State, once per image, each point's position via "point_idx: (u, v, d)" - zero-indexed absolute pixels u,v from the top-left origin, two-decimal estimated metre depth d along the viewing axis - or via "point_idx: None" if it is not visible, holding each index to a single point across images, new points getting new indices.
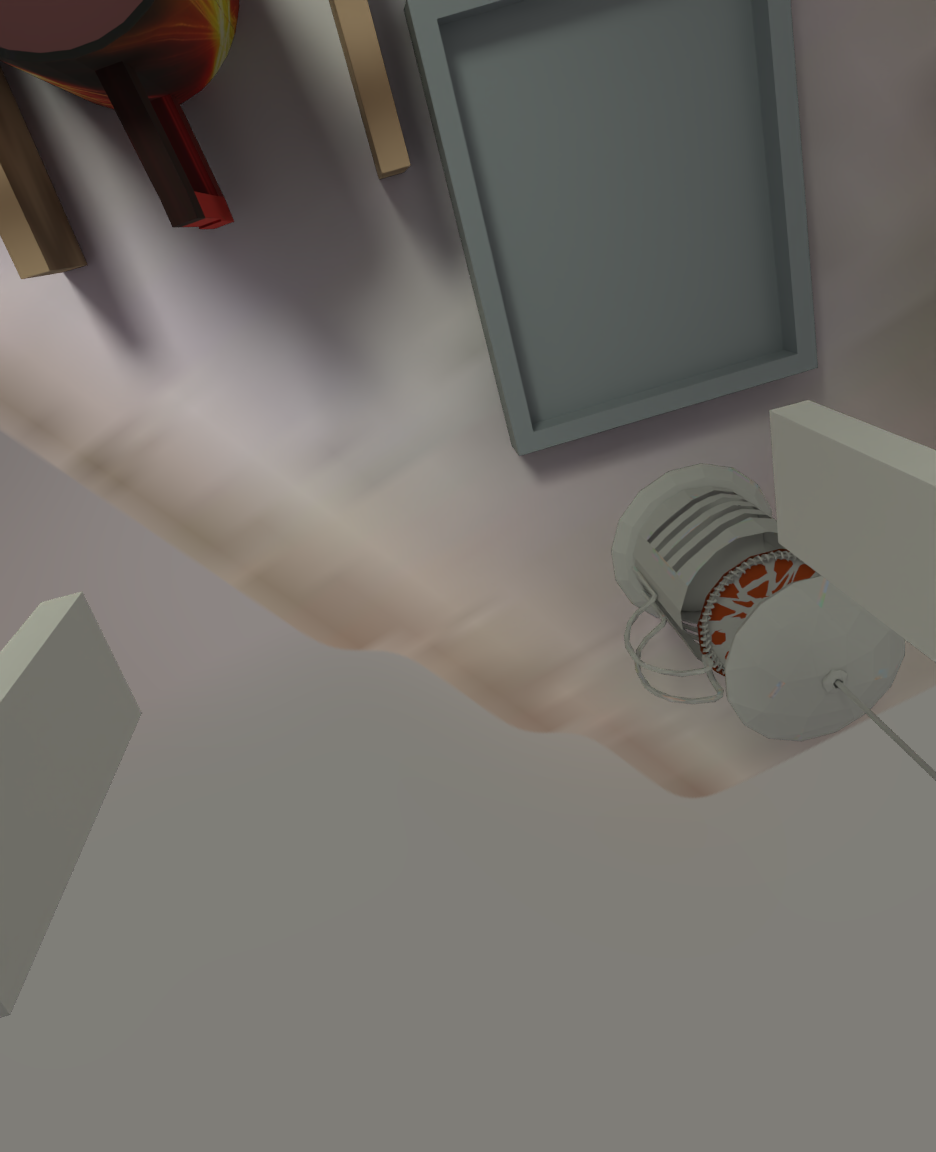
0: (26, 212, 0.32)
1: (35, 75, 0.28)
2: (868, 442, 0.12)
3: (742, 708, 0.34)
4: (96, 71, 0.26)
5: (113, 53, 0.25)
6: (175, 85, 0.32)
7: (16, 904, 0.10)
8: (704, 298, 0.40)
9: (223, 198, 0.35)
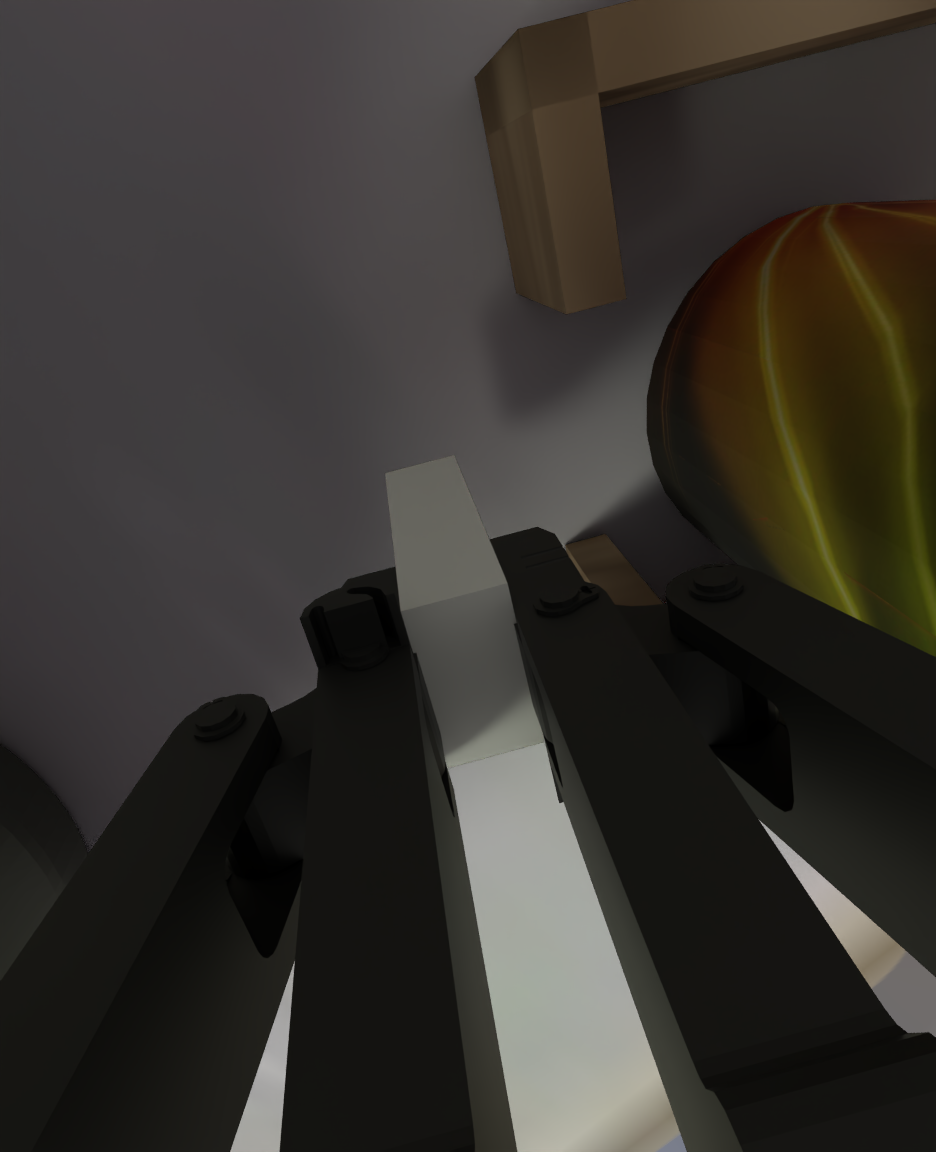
0: None
1: None
2: (445, 500, 0.14)
3: None
4: None
5: None
6: None
7: None
8: None
9: None
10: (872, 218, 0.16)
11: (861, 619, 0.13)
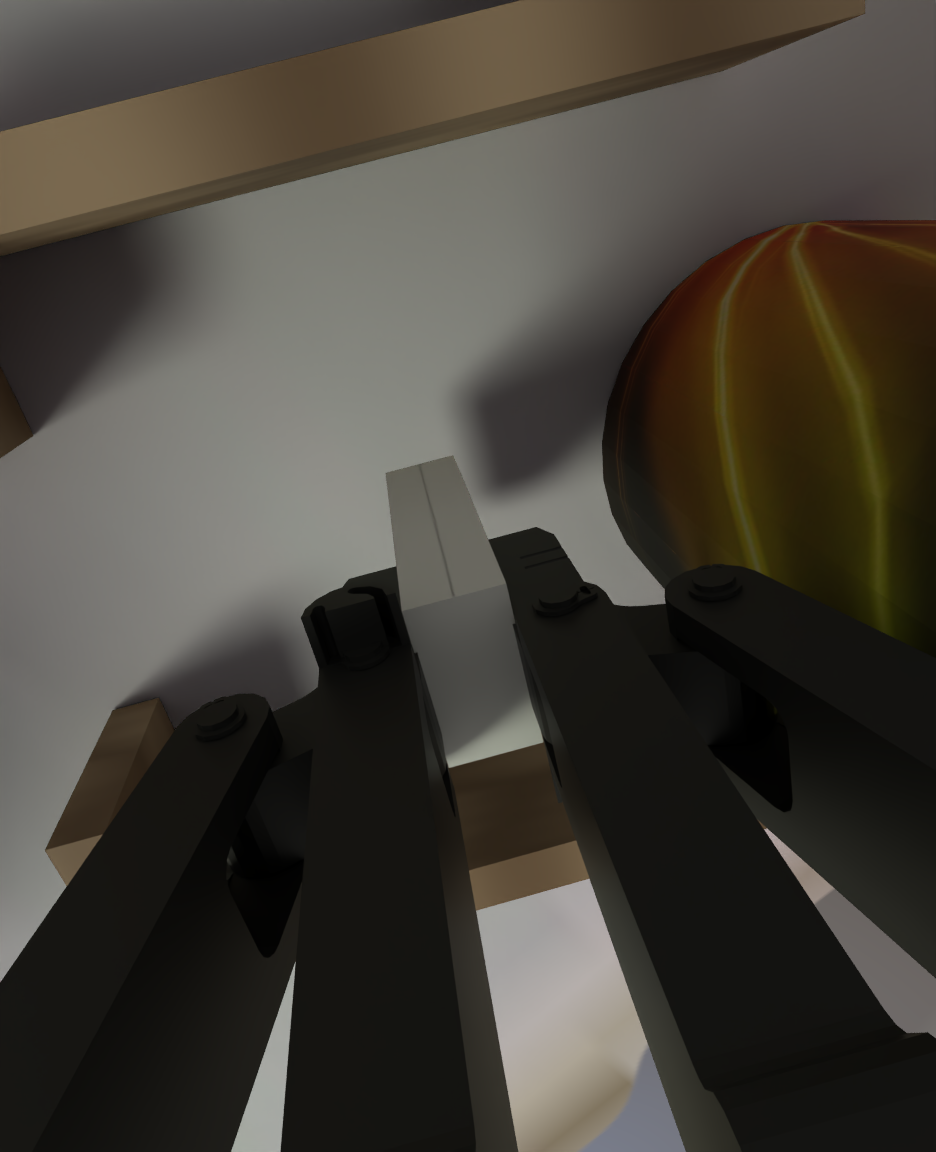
0: None
1: None
2: (444, 501, 0.14)
3: None
4: None
5: None
6: None
7: None
8: None
9: None
10: (845, 245, 0.14)
11: None
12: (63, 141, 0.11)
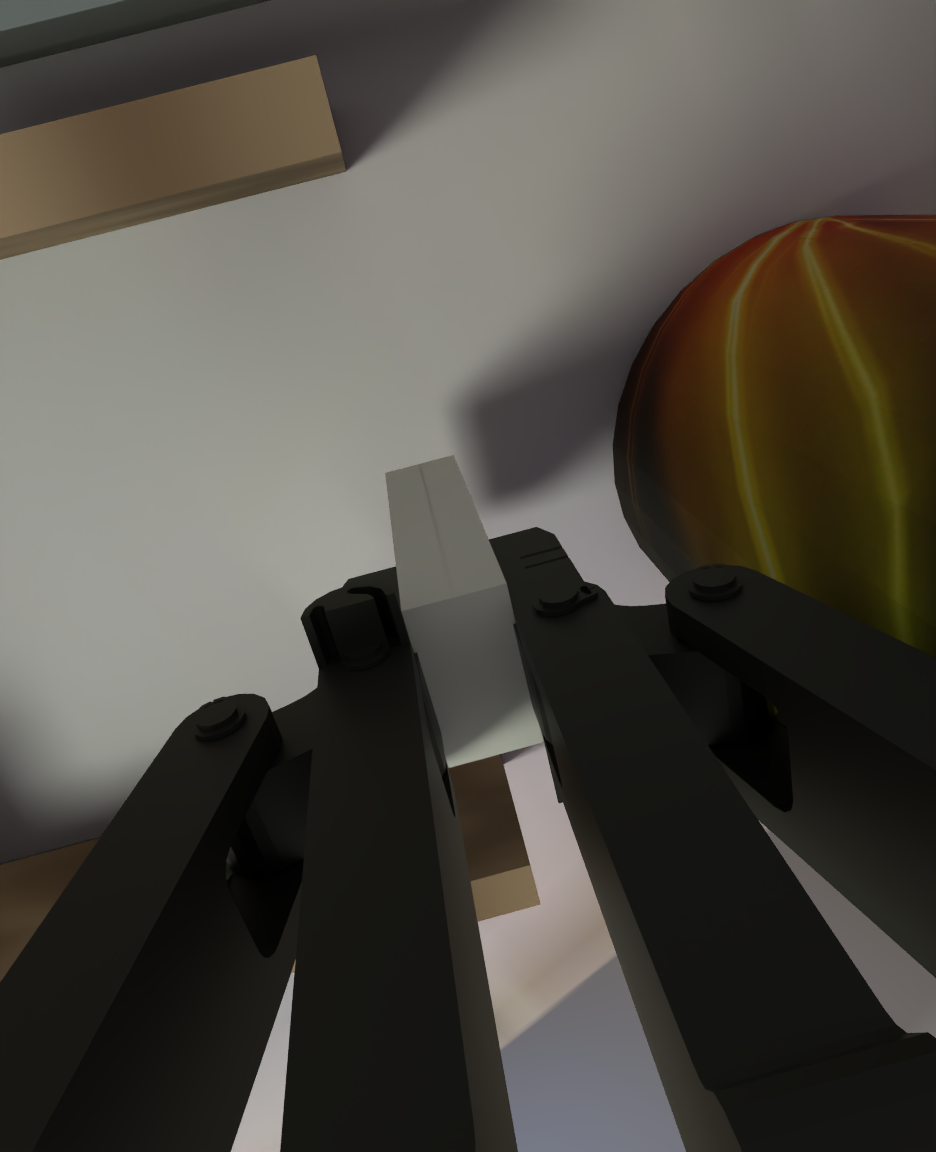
0: None
1: None
2: (444, 501, 0.14)
3: None
4: None
5: None
6: None
7: None
8: None
9: None
10: (858, 242, 0.14)
11: None
12: None
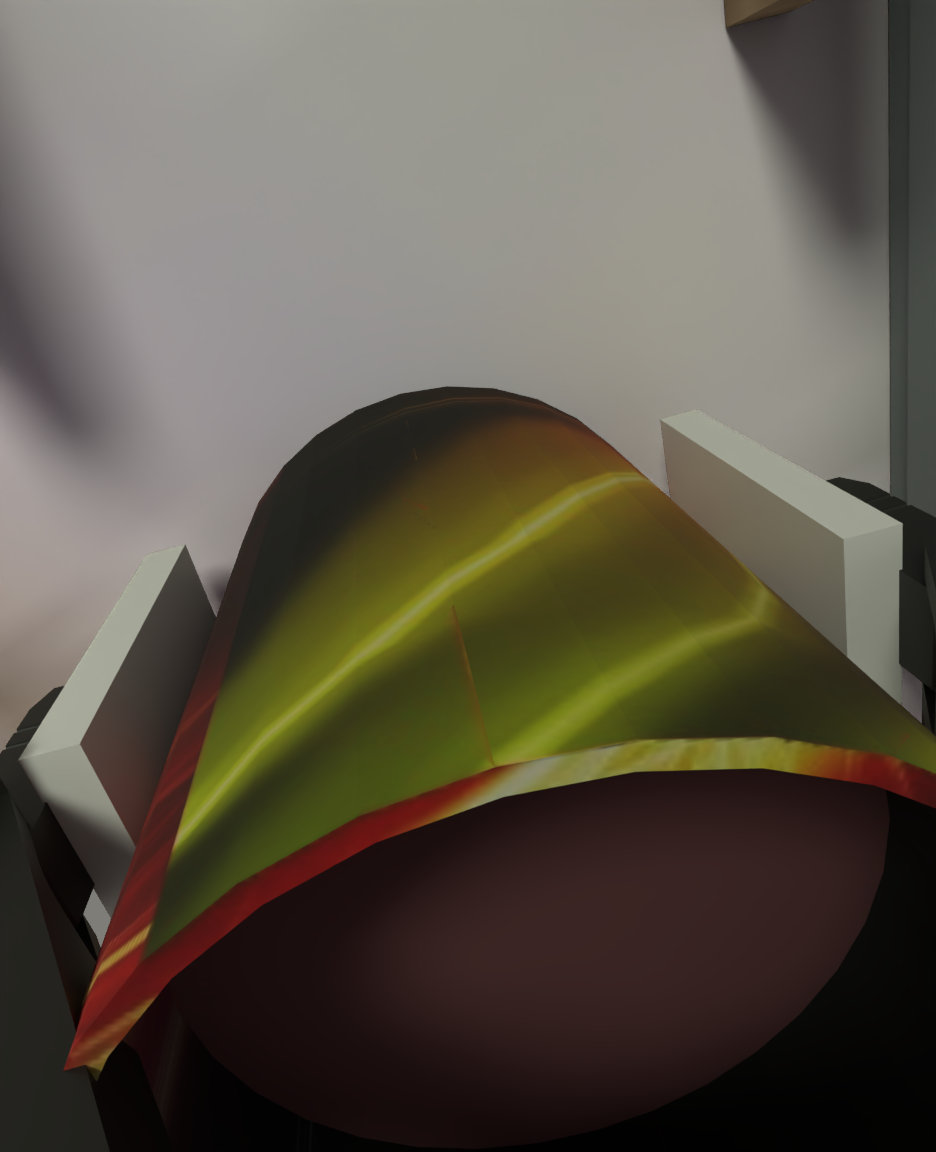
0: None
1: None
2: (731, 450, 0.13)
3: None
4: None
5: None
6: None
7: None
8: None
9: None
10: None
11: (380, 653, 0.07)
12: None
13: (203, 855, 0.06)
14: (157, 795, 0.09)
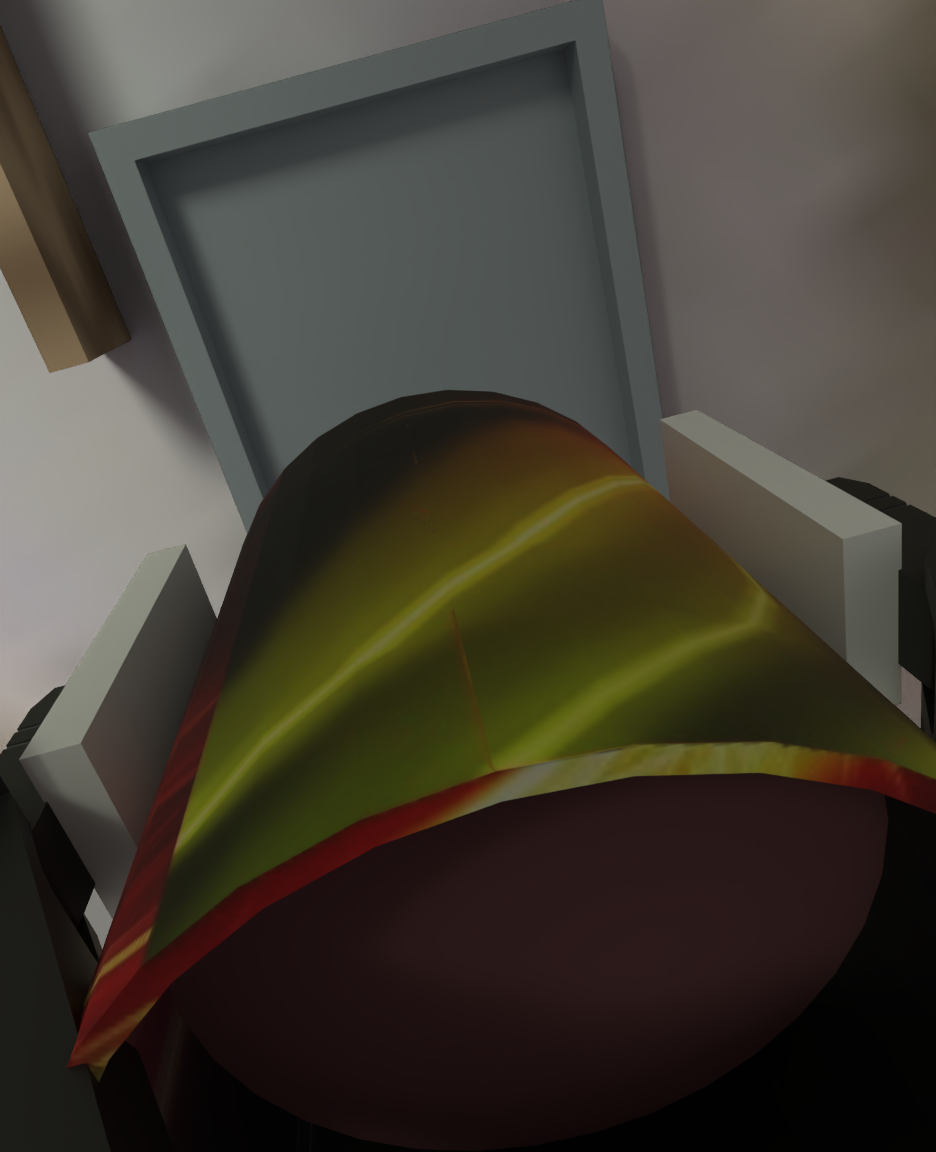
0: None
1: None
2: (731, 450, 0.13)
3: None
4: None
5: None
6: None
7: None
8: None
9: None
10: None
11: (380, 657, 0.07)
12: None
13: (205, 858, 0.06)
14: (158, 798, 0.09)
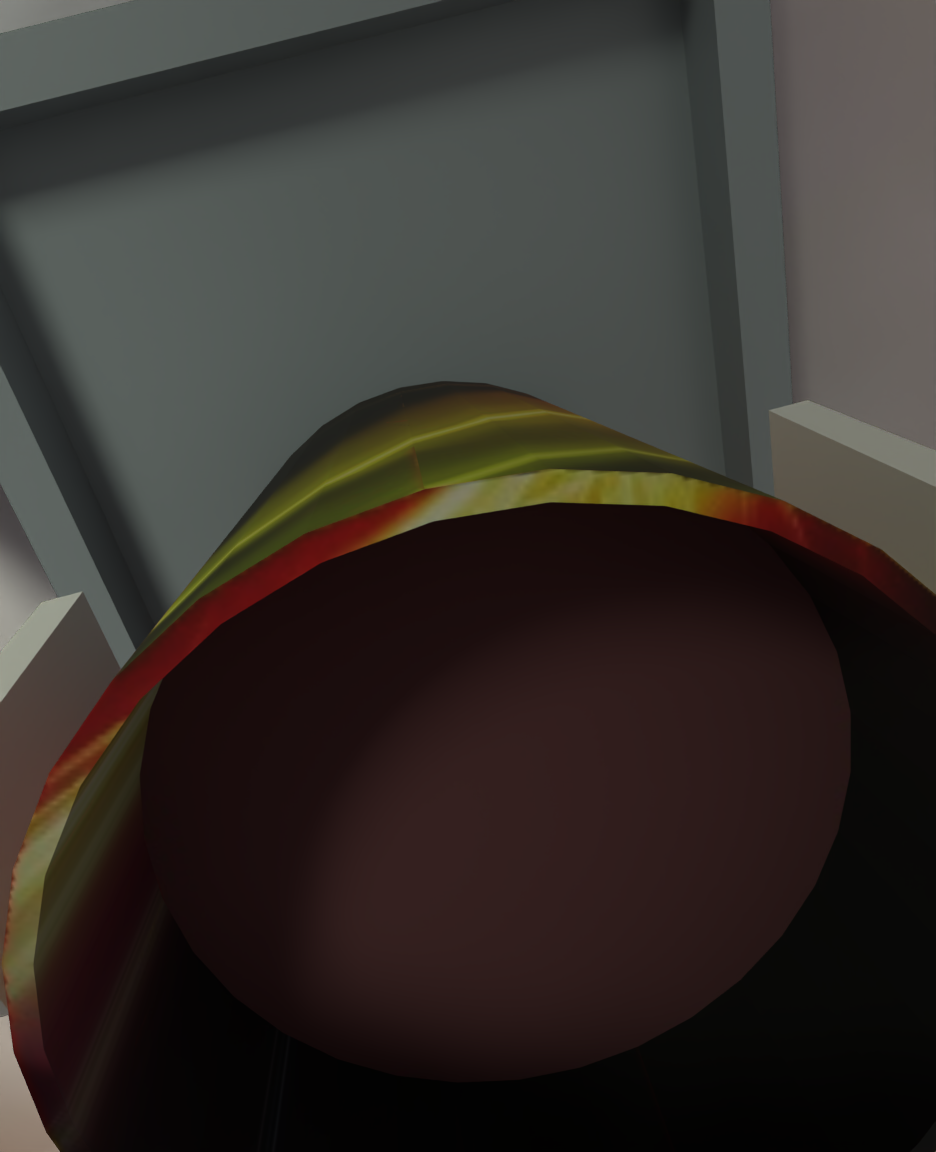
0: None
1: None
2: (867, 442, 0.12)
3: None
4: None
5: None
6: None
7: None
8: None
9: None
10: None
11: (345, 477, 0.08)
12: None
13: (176, 611, 0.07)
14: None
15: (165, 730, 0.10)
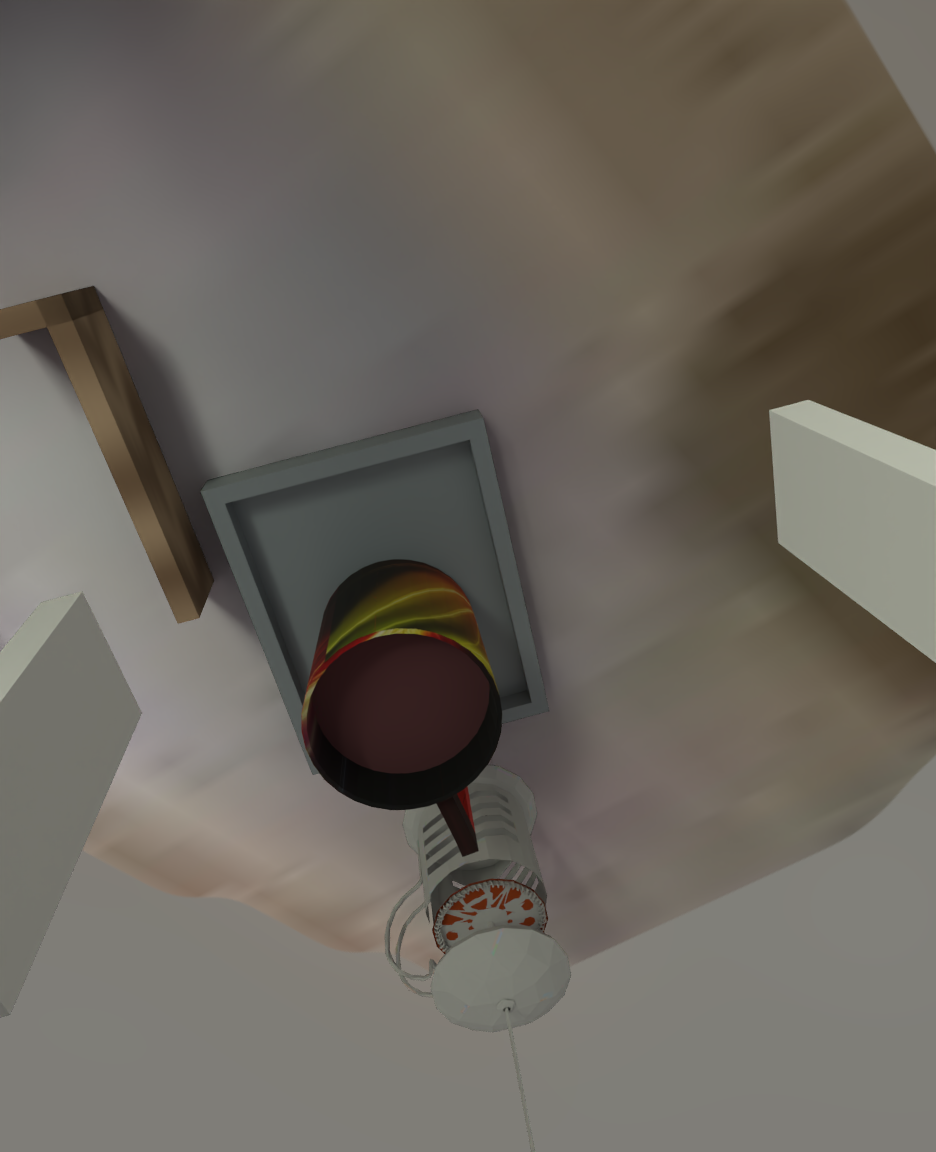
0: None
1: None
2: (868, 442, 0.12)
3: (446, 1014, 0.46)
4: None
5: None
6: None
7: (16, 904, 0.10)
8: None
9: None
10: (475, 622, 0.46)
11: (362, 622, 0.39)
12: (105, 412, 0.39)
13: (332, 650, 0.38)
14: (316, 657, 0.40)
15: None
